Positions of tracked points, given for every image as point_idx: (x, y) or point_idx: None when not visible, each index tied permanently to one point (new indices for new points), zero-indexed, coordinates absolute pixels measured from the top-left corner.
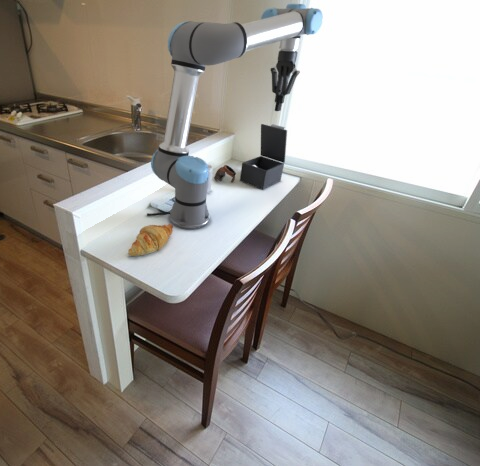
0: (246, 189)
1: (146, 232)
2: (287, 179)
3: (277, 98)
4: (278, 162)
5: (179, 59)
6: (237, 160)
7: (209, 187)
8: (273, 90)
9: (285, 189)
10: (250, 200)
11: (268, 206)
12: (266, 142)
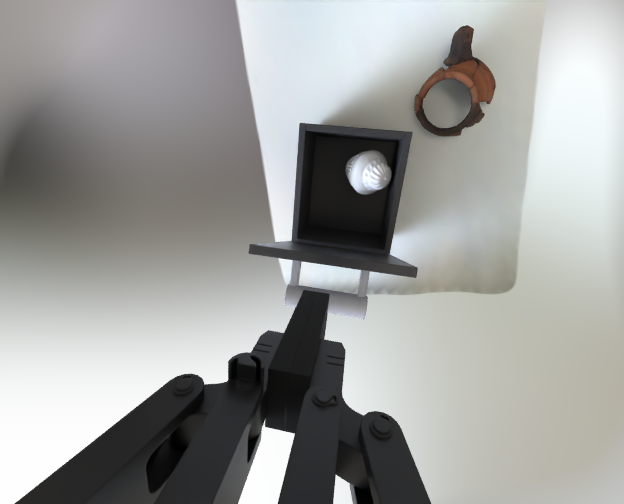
0: (351, 90)
1: None
2: None
3: (305, 350)
4: (310, 239)
5: None
6: (492, 292)
7: None
8: (379, 433)
9: (267, 184)
10: (301, 22)
11: (244, 31)
12: (367, 254)
